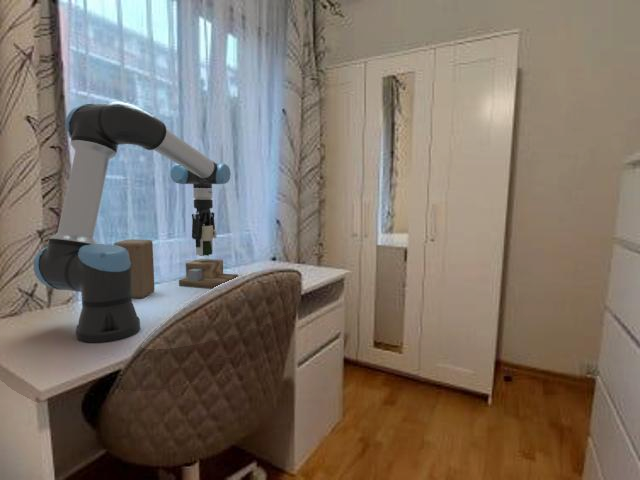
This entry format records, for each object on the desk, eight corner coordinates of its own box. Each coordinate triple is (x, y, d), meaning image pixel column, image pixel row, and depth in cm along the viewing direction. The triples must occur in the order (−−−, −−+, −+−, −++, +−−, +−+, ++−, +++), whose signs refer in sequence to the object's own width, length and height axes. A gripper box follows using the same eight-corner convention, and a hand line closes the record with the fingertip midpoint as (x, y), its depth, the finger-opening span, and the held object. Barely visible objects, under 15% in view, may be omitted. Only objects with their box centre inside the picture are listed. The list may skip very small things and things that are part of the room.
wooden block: (143, 298, 136) (140, 242, 134) (115, 298, 136) (112, 242, 134) (155, 291, 146) (153, 239, 144) (129, 291, 146) (127, 239, 144)
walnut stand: (219, 289, 150) (218, 267, 149) (179, 285, 155) (178, 265, 154) (238, 280, 166) (237, 260, 165) (200, 277, 170) (200, 258, 169)
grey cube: (197, 280, 153) (197, 271, 152) (188, 280, 154) (188, 270, 153) (202, 278, 157) (202, 269, 156) (194, 278, 158) (193, 268, 157)
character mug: (220, 255, 165) (219, 224, 163) (213, 257, 158) (212, 226, 156) (196, 254, 167) (195, 224, 165) (188, 256, 160) (187, 225, 158)
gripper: (197, 199, 149) (199, 257, 152) (223, 198, 168) (224, 250, 171) (180, 199, 151) (182, 256, 153) (207, 198, 170) (209, 249, 173)
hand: (204, 253), depth 162 cm, fingers closed on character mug, 7 cm apart
